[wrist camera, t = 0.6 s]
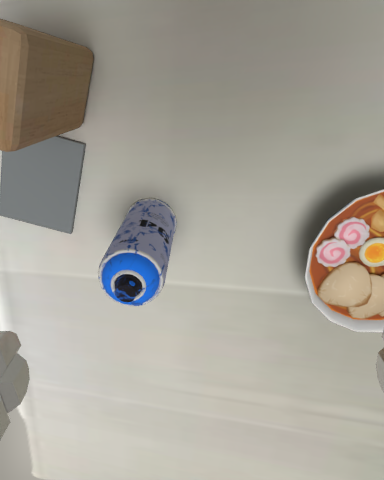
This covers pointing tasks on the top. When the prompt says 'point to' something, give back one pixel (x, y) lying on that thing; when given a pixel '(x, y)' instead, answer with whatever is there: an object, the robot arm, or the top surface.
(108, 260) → the aerosol can
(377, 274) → the ramen bowl
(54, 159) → the mat
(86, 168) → the top surface
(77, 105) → the wooden block
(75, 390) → the top surface
